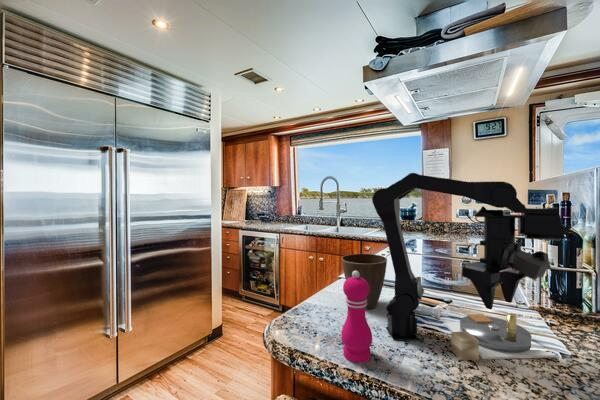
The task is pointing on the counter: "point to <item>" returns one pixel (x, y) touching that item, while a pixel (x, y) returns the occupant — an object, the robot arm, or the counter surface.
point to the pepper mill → (356, 320)
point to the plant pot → (367, 273)
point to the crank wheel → (497, 332)
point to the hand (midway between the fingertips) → (498, 305)
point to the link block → (465, 345)
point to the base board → (495, 354)
